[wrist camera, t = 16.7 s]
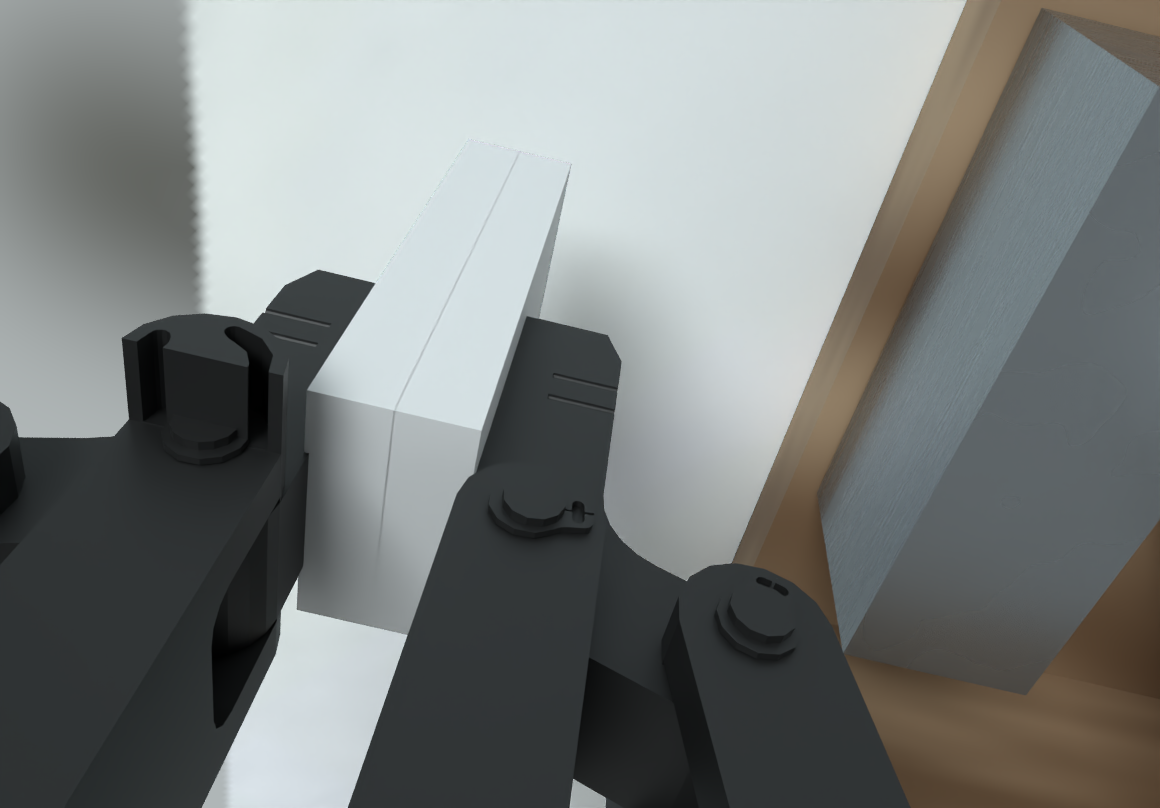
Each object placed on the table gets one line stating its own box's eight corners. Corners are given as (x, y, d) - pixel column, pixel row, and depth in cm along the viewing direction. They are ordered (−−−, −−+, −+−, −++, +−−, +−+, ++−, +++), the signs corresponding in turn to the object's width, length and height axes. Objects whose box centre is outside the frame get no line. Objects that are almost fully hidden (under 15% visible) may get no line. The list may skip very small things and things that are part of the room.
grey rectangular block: (1041, 7, 13) (1158, 86, 10) (1248, 58, 13) (1437, 154, 10) (817, 492, 18) (842, 653, 15) (966, 527, 18) (1026, 695, 15)
